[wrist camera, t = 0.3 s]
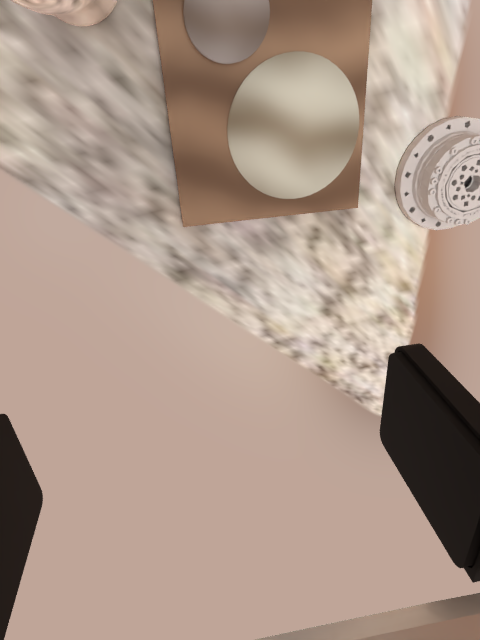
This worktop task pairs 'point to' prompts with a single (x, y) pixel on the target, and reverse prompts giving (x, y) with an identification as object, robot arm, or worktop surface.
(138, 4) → the worktop surface
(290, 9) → the carrier plate
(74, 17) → the beer glass
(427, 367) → the robot arm
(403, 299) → the worktop surface
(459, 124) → the mechanical component
